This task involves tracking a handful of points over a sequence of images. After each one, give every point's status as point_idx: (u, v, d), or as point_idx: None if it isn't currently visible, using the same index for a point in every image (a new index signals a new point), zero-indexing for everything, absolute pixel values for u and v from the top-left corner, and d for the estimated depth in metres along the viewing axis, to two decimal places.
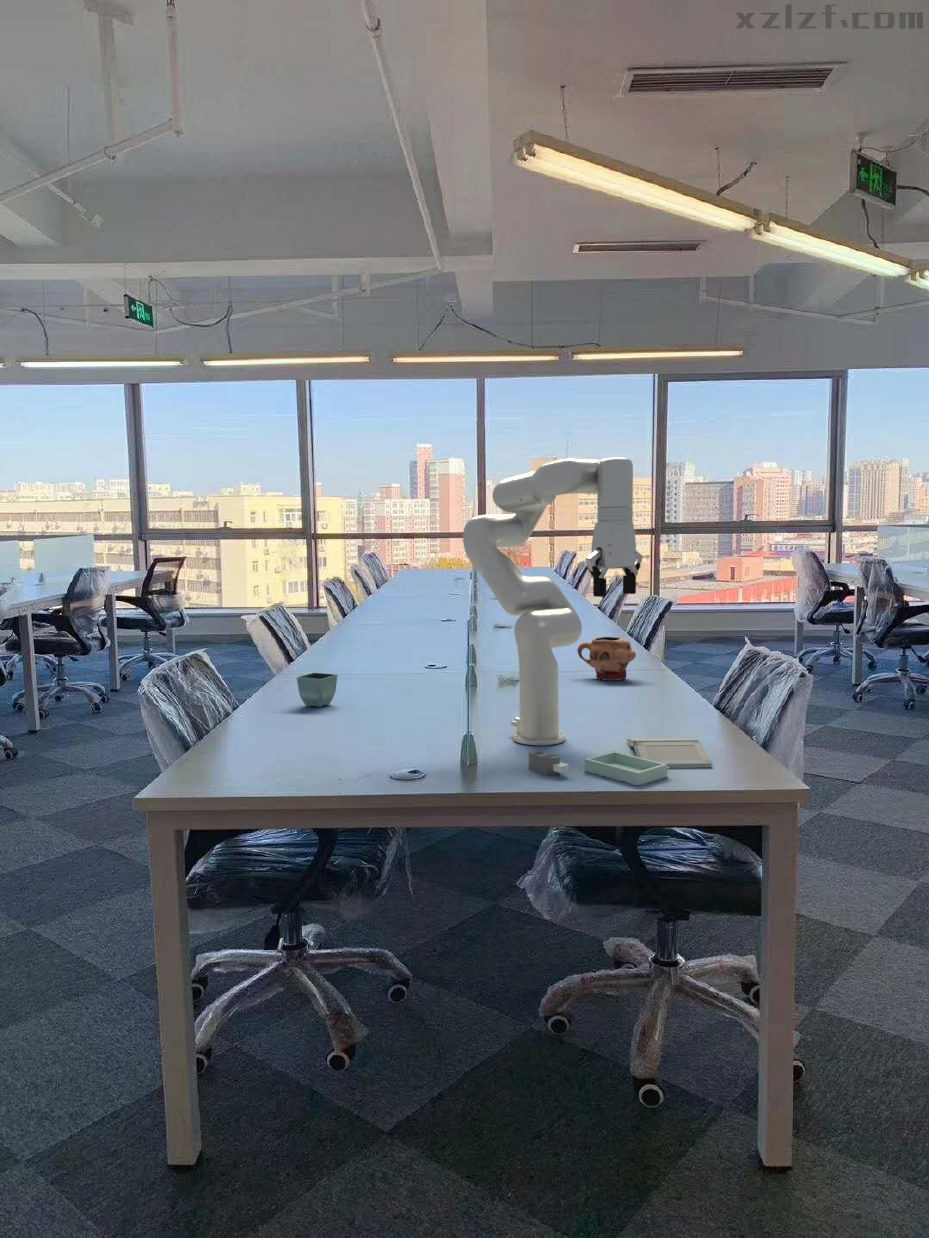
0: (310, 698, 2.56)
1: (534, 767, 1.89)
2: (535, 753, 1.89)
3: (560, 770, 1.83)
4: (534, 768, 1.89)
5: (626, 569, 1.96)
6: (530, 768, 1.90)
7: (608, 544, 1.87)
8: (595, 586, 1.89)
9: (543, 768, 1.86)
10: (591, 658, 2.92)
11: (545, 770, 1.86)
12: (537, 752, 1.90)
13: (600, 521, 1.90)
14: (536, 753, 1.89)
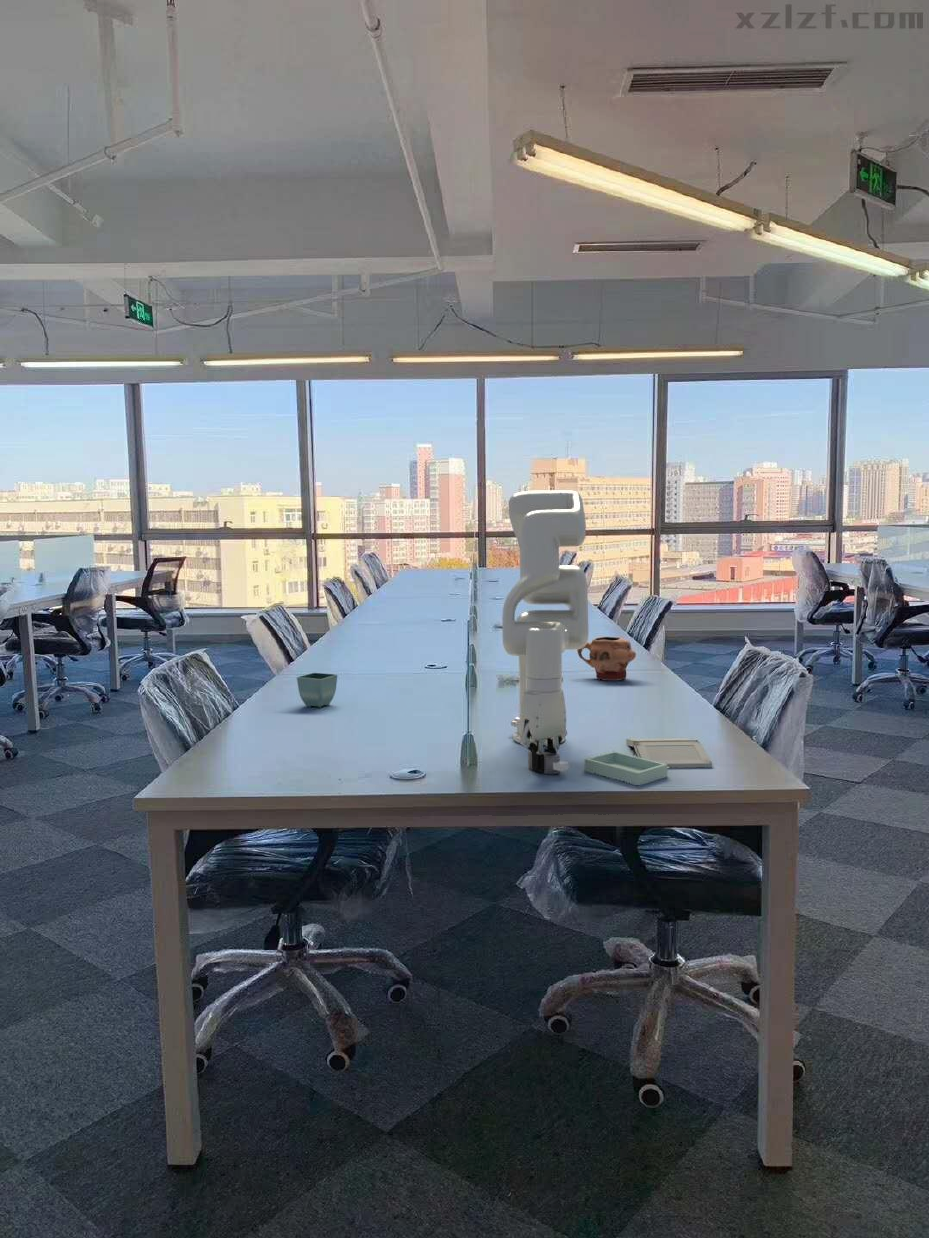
0: (310, 698, 2.56)
1: None
2: None
3: (560, 768, 1.83)
4: None
5: (549, 741, 1.90)
6: (530, 767, 1.90)
7: (535, 717, 1.83)
8: (533, 761, 1.87)
9: None
10: (591, 658, 2.92)
11: (545, 769, 1.86)
12: None
13: (528, 691, 1.85)
14: None
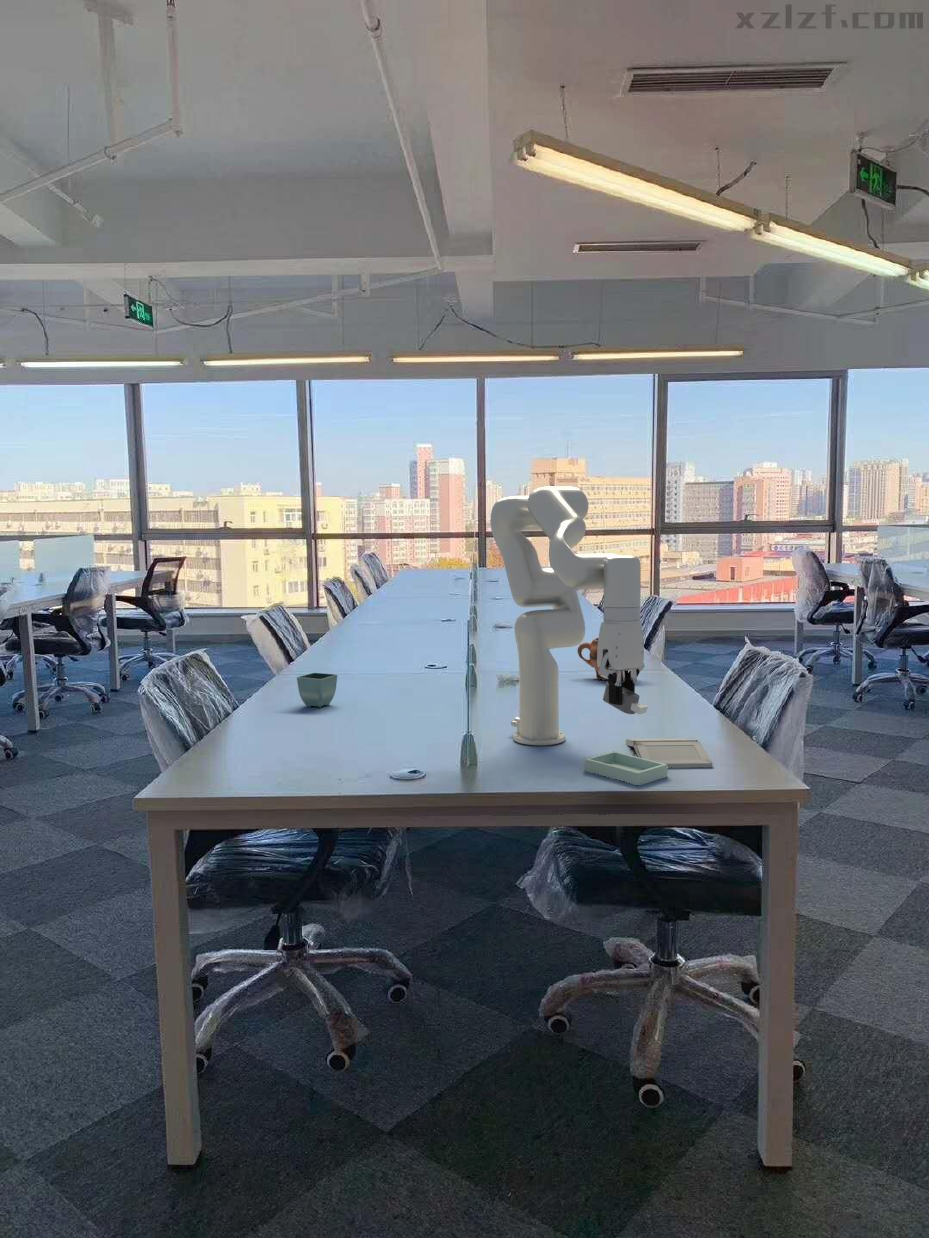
0: (310, 698, 2.56)
1: None
2: None
3: (638, 711, 1.80)
4: None
5: (626, 674, 1.86)
6: (605, 700, 1.86)
7: (615, 646, 1.79)
8: (611, 693, 1.83)
9: None
10: (591, 658, 2.92)
11: (621, 707, 1.83)
12: None
13: (606, 621, 1.81)
14: None
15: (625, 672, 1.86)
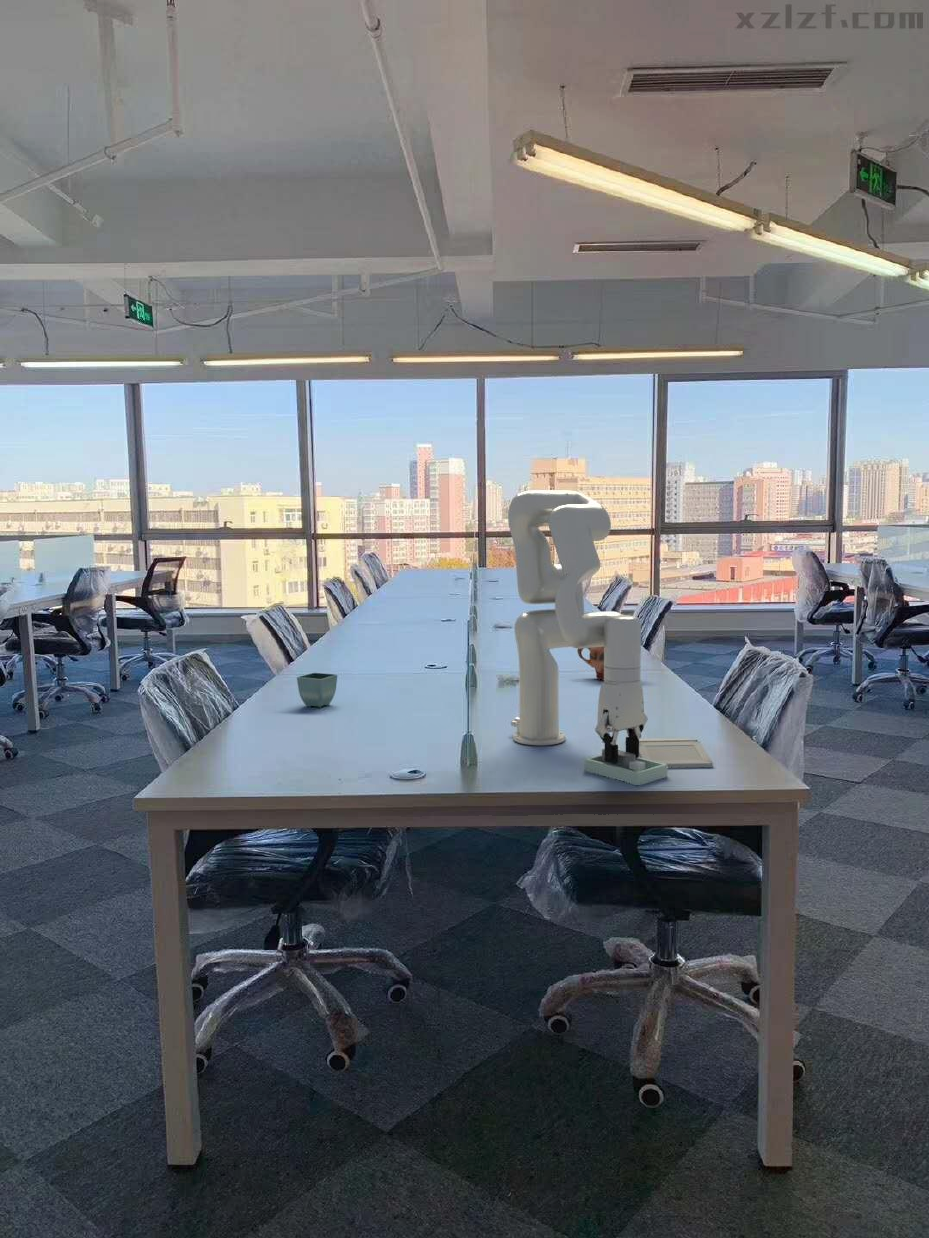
0: (310, 698, 2.56)
1: None
2: None
3: (637, 768, 1.82)
4: None
5: (630, 730, 1.88)
6: None
7: (615, 707, 1.80)
8: (606, 752, 1.83)
9: (618, 766, 1.85)
10: (591, 658, 2.92)
11: None
12: None
13: (607, 681, 1.83)
14: None
15: (628, 728, 1.88)
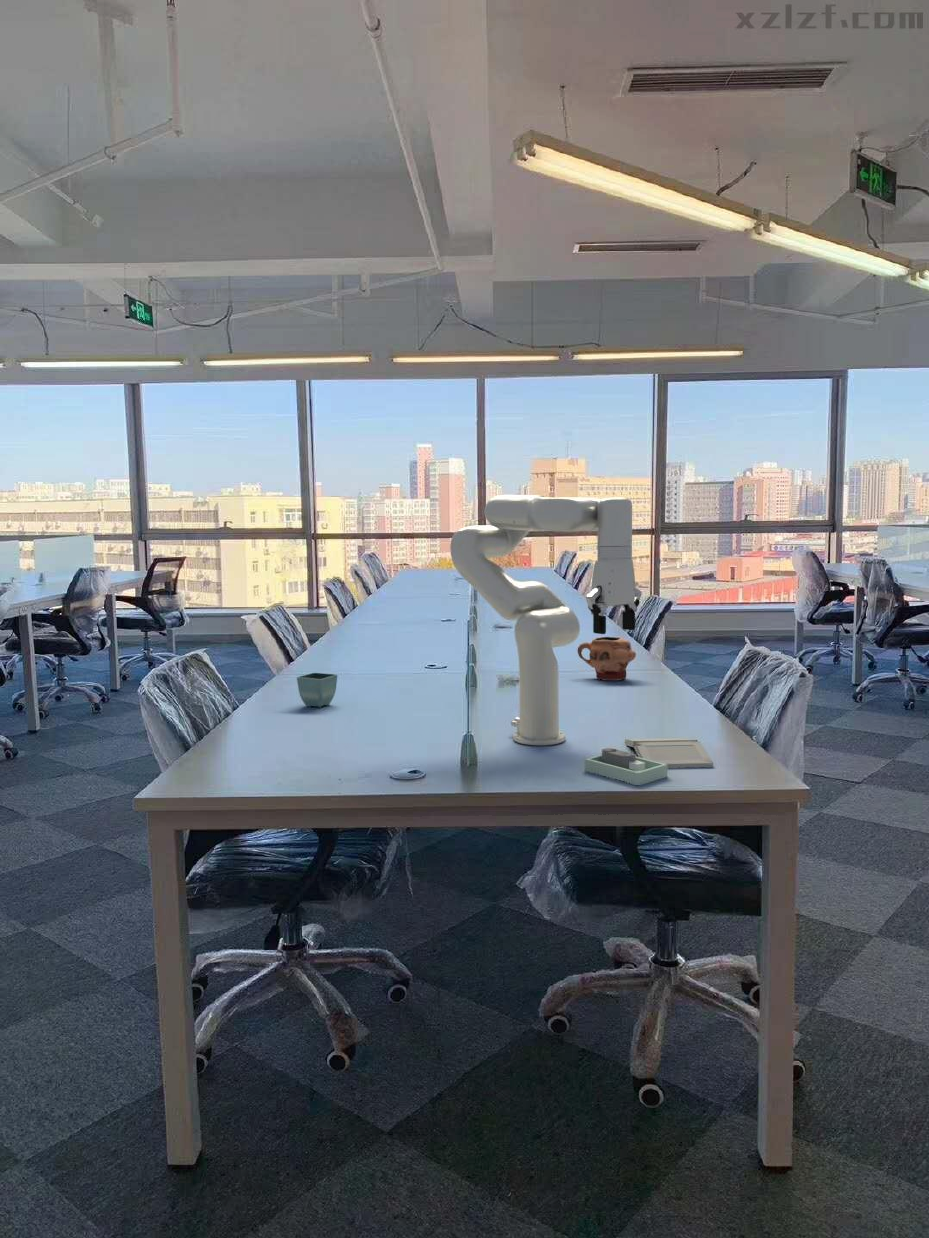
0: (310, 698, 2.56)
1: None
2: (609, 751, 1.88)
3: (637, 768, 1.82)
4: None
5: (625, 605, 2.00)
6: None
7: (608, 582, 1.91)
8: (595, 623, 1.93)
9: (618, 766, 1.85)
10: (591, 658, 2.92)
11: None
12: (611, 750, 1.88)
13: (600, 559, 1.93)
14: (610, 751, 1.87)
15: (624, 605, 1.99)
